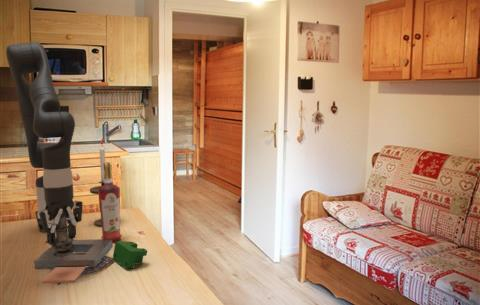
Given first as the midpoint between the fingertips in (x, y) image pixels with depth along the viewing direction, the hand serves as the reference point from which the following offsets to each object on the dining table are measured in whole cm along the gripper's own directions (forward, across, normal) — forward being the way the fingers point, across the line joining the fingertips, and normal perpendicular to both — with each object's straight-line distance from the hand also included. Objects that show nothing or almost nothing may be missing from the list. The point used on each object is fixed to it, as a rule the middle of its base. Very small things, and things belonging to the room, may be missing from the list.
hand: (62, 241), depth 121 cm
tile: (+10, 0, 0) cm, 10 cm away
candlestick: (+10, -41, -27) cm, 50 cm away
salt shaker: (+4, 0, 0) cm, 4 cm away
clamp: (+11, -16, +10) cm, 22 cm away
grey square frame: (+10, -11, -9) cm, 17 cm away
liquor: (+10, -28, -10) cm, 31 cm away
